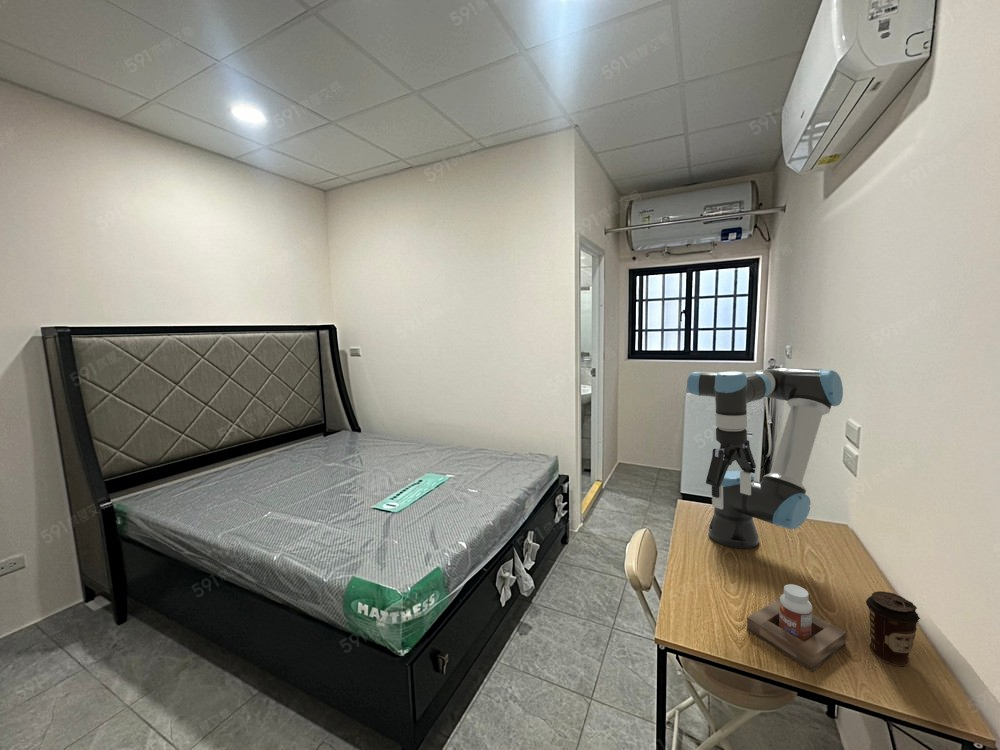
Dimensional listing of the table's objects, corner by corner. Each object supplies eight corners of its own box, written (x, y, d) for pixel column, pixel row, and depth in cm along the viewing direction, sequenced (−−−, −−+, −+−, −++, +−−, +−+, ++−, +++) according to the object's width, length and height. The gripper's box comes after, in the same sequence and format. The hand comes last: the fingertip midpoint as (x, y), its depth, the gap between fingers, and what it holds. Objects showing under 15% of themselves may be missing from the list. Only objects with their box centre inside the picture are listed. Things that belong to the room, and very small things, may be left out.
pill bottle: (772, 626, 99) (773, 584, 97) (794, 622, 100) (795, 580, 98) (794, 646, 92) (796, 600, 91) (818, 641, 93) (819, 596, 92)
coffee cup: (928, 665, 87) (931, 609, 85) (901, 677, 84) (904, 619, 83) (880, 637, 95) (882, 585, 94) (854, 646, 93) (856, 593, 91)
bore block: (780, 610, 105) (781, 597, 105) (845, 646, 93) (846, 632, 92) (747, 630, 99) (747, 617, 99) (811, 671, 87) (812, 656, 86)
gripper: (742, 417, 122) (743, 484, 125) (690, 434, 110) (692, 508, 112) (769, 421, 115) (769, 492, 118) (717, 440, 103) (718, 518, 106)
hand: (732, 500), depth 115 cm, fingers open, 13 cm apart
